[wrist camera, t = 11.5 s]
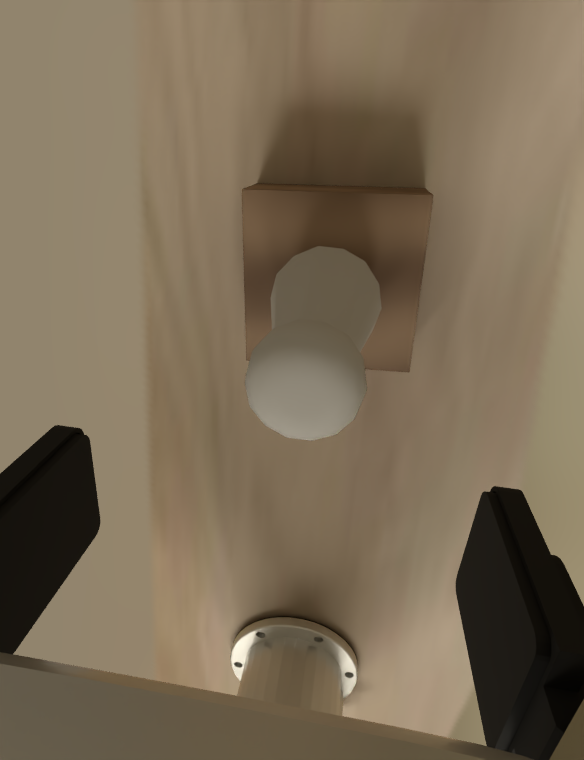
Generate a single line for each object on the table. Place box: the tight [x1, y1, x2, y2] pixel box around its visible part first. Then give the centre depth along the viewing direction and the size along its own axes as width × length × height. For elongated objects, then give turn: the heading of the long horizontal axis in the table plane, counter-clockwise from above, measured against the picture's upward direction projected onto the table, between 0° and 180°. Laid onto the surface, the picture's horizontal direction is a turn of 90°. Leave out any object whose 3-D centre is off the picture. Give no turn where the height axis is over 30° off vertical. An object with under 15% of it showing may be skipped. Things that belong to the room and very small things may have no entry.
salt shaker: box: [245, 246, 382, 441], centre depth 22 cm, size 6×6×13 cm
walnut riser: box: [242, 183, 433, 372], centre depth 29 cm, size 10×10×4 cm
